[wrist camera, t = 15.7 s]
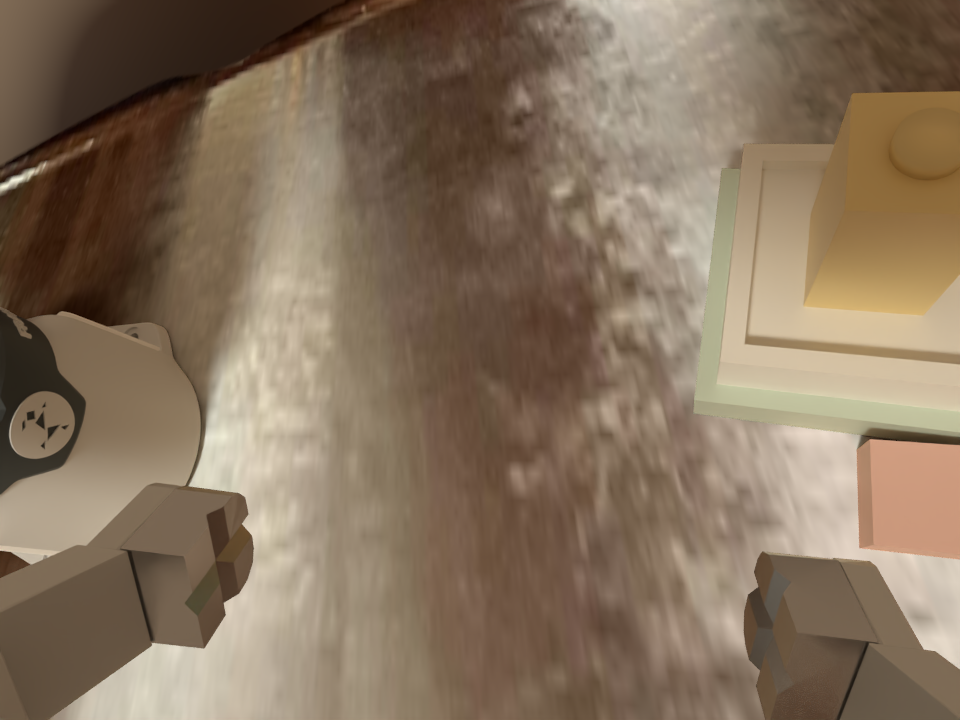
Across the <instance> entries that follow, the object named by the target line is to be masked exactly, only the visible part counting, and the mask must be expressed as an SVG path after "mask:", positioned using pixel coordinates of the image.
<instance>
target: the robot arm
mask: <svg viewBox="0 0 960 720" xmlns="http://www.w3.org/2000/svg"><path fill="white" fill-rule="evenodd" d="M200 431H201V419H200V410H199V404H198V400H197V396H196V394H195V391H194V389H193V386H192V384H191V382H190V381H189V379H188V378H187V376H186V375H185V373H184V372H183V371H182V370H181V368H180V367H179V366H178V365H177V363H176V362H175V360H174V358H173V354H172V349H171V343H170V339H169V336H168V333H167V331H166V329H165V328H164V327H162V326H160V325H157V324H154V323H151V322H145V323H136V324H127V325H118V326H109V327H106V326H104V325H101V324H99V323H96V322H93V321H91V320H88V319H86V318H83V317H80V316H78V315H75V314H72V313H69V312H64V311H61V312H59V313H58V314H57V315H43V316H38V317H34V318H30V319H23V318H21V317H18V316H16V315H15V314H13V313H10V311H8V310H6V309H3V308H1V307H0V551H10V552H12V553H14V554H15V555H17V556H18V557H20V558H22V559H23V560H25V561H26V562H28V563H30V564H31V565H29V566H27V567H25V568H23V569H20V570H18V571H16V572H13V573H11V574H9V575H7V576H4V577H2V578H0V720H48V719H50V718H51V717H52V716H54V715H55V714H57V713H58V712H59V711H61V710H62V709H64V708H65V707H66V706H68V705H69V704H71V703H72V702H73V701H75V700H76V699H78V698H79V697H81V696H82V695H83V694H85V693H86V692H88V691H89V690H90V689H92V688H93V687H95V686H96V685H97V684H99V683H100V682H102V681H103V680H104V679H106V678H107V677H109V676H110V675H111V674H113V673H114V672H116V671H117V670H118V669H120V668H121V667H123V666H124V665H125V664H127V663H128V662H130V661H131V660H132V659H134V658H135V657H137V656H138V655H139V654H141V653H142V652H144V651H145V650H146V649H148V648H149V647H151V646H152V643H160V644H169V645H178V646H187V647H196V648H205V647H206V645H207V643H208V642H209V640H210V639H211V637H212V636H213V634H214V632H215V631H216V629H217V628H218V626H219V625H220V623H221V621H222V620H223V618H224V617H225V615H226V614H225V609H224V602H226V601H227V600H229V599H231V598H232V597H234V596H236V595H237V594H239V593H240V591H241V589H242V588H243V586H244V584H245V583H246V581H247V579H248V576H249V573H250V569H251V566H252V563H253V550H254V547H253V540H252V535H251V534H250V533H249V532H248V531H247V530H246V529H245V527H244V526H243V525H242V523H243V521H244V520H245V518H246V517H247V515H248V509H247V504H246V499H245V497H244V496H242V495H241V494H239V493H234V492H227V491H219V490H212V489H204V488H197V487H190V486H185V485H186V483H187V481H188V479H189V477H190V474H191V472H192V469H193V466H194V463H195V460H196V456H197V452H198V448H199V441H200ZM754 573H755V577H756V580H757V583H758V586H759V587H758V588H756V589H755V590H754V591H752V592H751V593H750V594H748V598H747V602H746V607H745V611H744V637H745V645H746V649H747V653H748V657H749V660H750V661H751V662H752V663H753V664H754V665H755V666H756V667H757V668H758V669H759V670H760V674H759V677H758V681H757V684H756V688H757V691H758V695H759V698H760V702H761V706H762V709H763V713H764V717H765V720H960V669H958V668H957V667H956V666H954V665H953V664H952V663H950V662H949V661H948V660H946V659H945V658H943V657H942V656H941V655H939V654H938V653H937V652H935V651H929V650H924V649H923V648H922V646H921V644H920V642H919V641H918V639H917V637H916V635H915V634H914V632H913V630H912V628H911V627H910V625H909V623H908V621H907V620H906V618H905V616H904V614H903V612H902V611H901V609H900V607H899V605H898V604H897V602H896V600H895V598H894V597H893V595H892V593H891V591H890V590H889V588H888V586H887V584H886V583H885V581H884V579H883V577H882V576H881V574H880V572H879V570H878V569H877V567H876V566H875V565H874V564H873V563H871V562H870V561H861V560H850V559H839V558H833V559H829V558H820V557H810V556H801V555H791V554H782V553H772V552H763V551H762V553H761V554H760V556H759V558H758V560H757V563H756V567H755V570H754Z"/></svg>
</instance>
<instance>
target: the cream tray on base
mask: <svg viewBox="0 0 960 720" xmlns="http://www.w3.org/2000/svg"><path fill="white" fill-rule="evenodd" d="M834 145H835V144H744V148H743V155H742V162H741V169H733V168H722V171H721V180H720V188H719V197H718V205H717V213H716V222H715V230H714V239H713V247H712V255H711V264H710V272H709V280H708V289H707V297H706V306H705V314H704V322H703V331H702V339H701V348H700V356H699V364H698V373H697V381H696V390H695V398H694V412H693V413H694V414H702V415H709V416H717V417H725V418H733V419H741V420H748V421H756V422H764V423H772V424H779V425H787V426H795V427H803V428H811V429H818V430H826V431H834V432H842V433H850V434H857V435H865V436H873V437H881V438H888V439H896V440H904V441H912V442H920V443H933V444H947V445H960V275H959V276H958V277H957V278H956V279H955V280H954V282H953V283H952V284H951V285H950V286H949V287H948V288H947V290H946V291H945V292H944V293H943V294H942V295H941V296H940V297H939V299H938V300H937V301H936V302H935V303H934V304H933V305H932V306H931V308H930V309H929V310H928V311H927V312H926V313H925V314H924V315H923V316H922V315H909V314H895V313H882V312H869V311H856V310H843V309H829V308H816V307H803V305H804V292H805V279H806V266H807V254H808V241H809V228H810V216H811V212H812V209H813V206H814V203H815V200H816V197H817V194H818V191H819V188H820V185H821V182H822V180H823V177H824V174H825V171H826V168H827V165H828V162H829V159H830V156H831V153H832V150H833V147H834Z"/></svg>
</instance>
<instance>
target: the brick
mask: <svg viewBox="0 0 960 720" xmlns="http://www.w3.org/2000/svg"><path fill="white" fill-rule="evenodd" d="M857 481H858V516H859V548H863V549H871V550H880V551H889V552H898V553H907V554H916V555H925V556H933V557H942V558H951V559H960V445H947V444H933V443H918V442H904V441H889V440H874V439H870V440H868V441H867V442H866V443H865V444H863V445H862V446H861V447H860V448H858V449H857Z"/></svg>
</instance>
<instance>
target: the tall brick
mask: <svg viewBox="0 0 960 720" xmlns="http://www.w3.org/2000/svg"><path fill="white" fill-rule="evenodd" d="M959 275H960V91H951V92H894V93H852V95H851V98H850V101H849V104H848V107H847V110H846V112H845V115H844V118H843V121H842V124H841V127H840V130H839V133H838V136H837V139H836V142H835V145H834V147H833V150H832V153H831V156H830V159H829V162H828V165H827V168H826V171H825V174H824V177H823V180H822V182H821V185H820V188H819V191H818V194H817V197H816V200H815V203H814V206H813V209H812V212H811V216H810V228H809V241H808V254H807V266H806V279H805V292H804V305H803V307H816V308H829V309H843V310H856V311H869V312H882V313H895V314H909V315H922V316H923V315H924V314H925V313H926V312H927V311H928V310H929V309H930V308H931V306H932V305H933V304H934V303H935V302H936V301H937V300H938V299H939V297H940V296H941V295H942V294H943V293H944V292H945V291H946V290H947V288H948V287H949V286H950V285H951V284H952V283H953V282H954V280H955V279H956V278H957V277H958V276H959Z"/></svg>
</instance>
